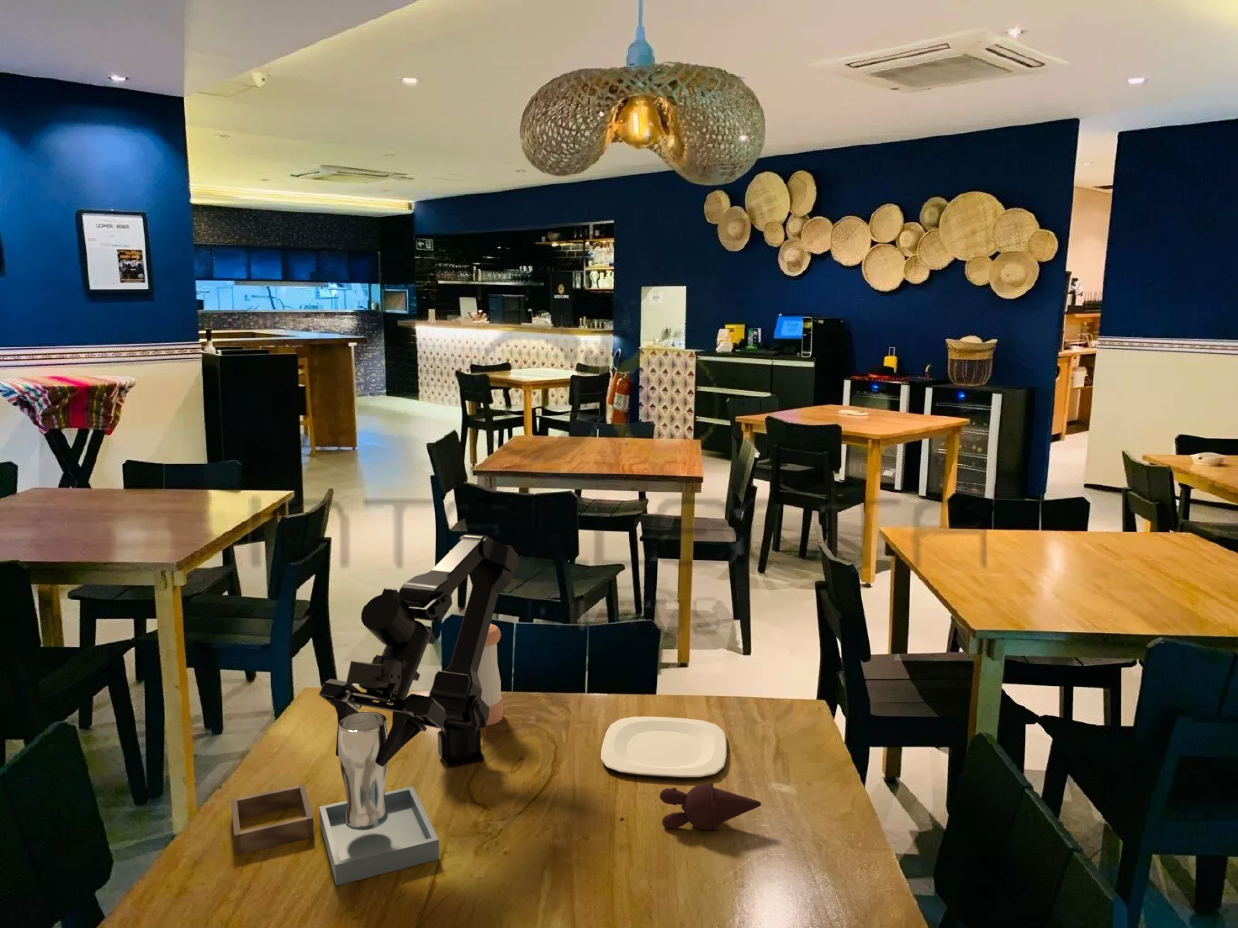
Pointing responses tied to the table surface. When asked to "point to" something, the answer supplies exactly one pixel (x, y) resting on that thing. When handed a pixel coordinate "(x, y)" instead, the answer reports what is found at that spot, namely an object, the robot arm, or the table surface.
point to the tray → (379, 839)
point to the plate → (664, 747)
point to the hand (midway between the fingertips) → (359, 760)
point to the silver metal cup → (363, 769)
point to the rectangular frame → (273, 832)
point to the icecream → (705, 806)
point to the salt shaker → (491, 676)
